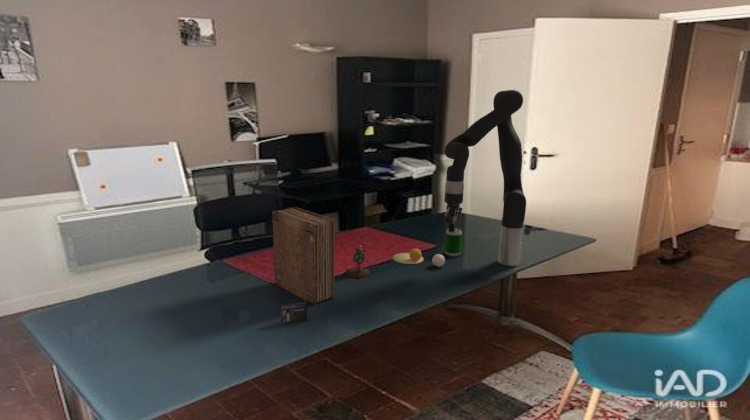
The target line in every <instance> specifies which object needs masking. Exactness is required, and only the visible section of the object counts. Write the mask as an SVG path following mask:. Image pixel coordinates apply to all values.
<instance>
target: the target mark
mask: <svg viewBox="0 0 750 420" xmlns="http://www.w3.org/2000/svg"><path fill="white" fill-rule="evenodd" d="M409 253H410V252H401V253H397V254H394V255H393V256H392V260H393V261H394V262H396V263H399V264H405V265H415V264H420V263H423V262H424V257H423V256H421V258H420V259H419V260H418V261H413V260H412V259H411V258H410V256H409Z"/></svg>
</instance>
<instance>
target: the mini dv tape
mask: <svg viewBox="0 0 750 420" xmlns="http://www.w3.org/2000/svg"><path fill="white" fill-rule="evenodd" d="M307 305H308V304H307V302H306V301H304V302H296V303H295V302H294V303H284V304H281V305H280V313H281V314H280V317H281V319H280V321H281V324H288V323H290V324H291V323H297V322H307V321H308V306H307Z"/></svg>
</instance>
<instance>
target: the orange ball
mask: <svg viewBox="0 0 750 420" xmlns="http://www.w3.org/2000/svg"><path fill="white" fill-rule="evenodd" d="M408 253H409V256H410V258H411V259H412V260H413V261H418V260H419V259H420V258H421V256H422V255H423V254H422V251H421V250H420V249H419V248H412V249H410V251H409V252H408ZM422 257H423V256H422Z"/></svg>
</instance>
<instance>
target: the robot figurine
mask: <svg viewBox="0 0 750 420" xmlns="http://www.w3.org/2000/svg"><path fill="white" fill-rule="evenodd" d="M365 252H366V249H363V248H362V245H359V247H358V248H355V252H354V253H353V254H352V255H353V258H352V260H351V261H352V263H355V264H356V267H351V268H347V269H345V274H346V277H348V278H352V279H357V280H358V279H359V280H360V279H363V278H367V277H370V276H371V273H370V271H369V269H368V268H365V267H364V268H363V267H361V264H363V263H364V261H366V262H367V264H370V262H371V261H370V260H368V259H367V258H366V253H365Z"/></svg>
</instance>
